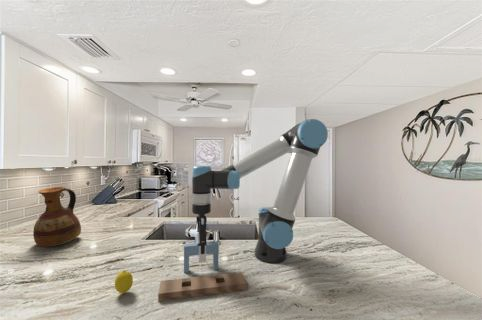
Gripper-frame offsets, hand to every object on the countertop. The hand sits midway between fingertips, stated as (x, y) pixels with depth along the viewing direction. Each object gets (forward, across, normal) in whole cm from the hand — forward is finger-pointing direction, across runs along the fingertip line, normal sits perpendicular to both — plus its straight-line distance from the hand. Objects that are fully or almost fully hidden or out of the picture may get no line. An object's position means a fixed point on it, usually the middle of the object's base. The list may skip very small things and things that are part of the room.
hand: (201, 254), depth 98 cm
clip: (+7, 0, 0) cm, 7 cm away
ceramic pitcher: (+7, -46, -73) cm, 87 cm away
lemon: (+7, +11, -27) cm, 30 cm away
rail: (+7, +14, 0) cm, 16 cm away
